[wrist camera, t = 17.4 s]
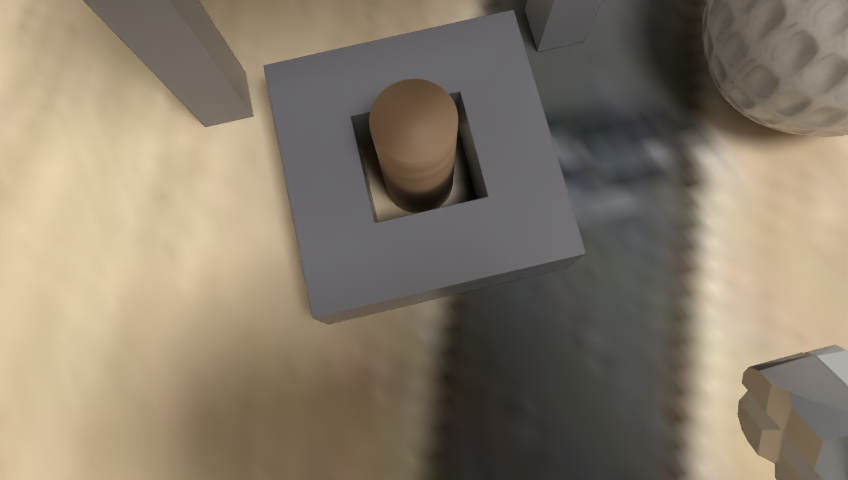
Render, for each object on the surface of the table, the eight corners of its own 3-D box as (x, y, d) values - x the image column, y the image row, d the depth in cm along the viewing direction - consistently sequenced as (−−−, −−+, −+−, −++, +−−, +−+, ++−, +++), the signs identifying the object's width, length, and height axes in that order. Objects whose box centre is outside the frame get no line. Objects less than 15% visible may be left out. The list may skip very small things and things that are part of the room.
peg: (465, 169, 36) (474, 104, 27) (430, 225, 35) (429, 178, 26) (407, 137, 36) (398, 64, 27) (373, 192, 35) (352, 135, 27)
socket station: (650, 248, 34) (1775, -365, 6) (242, 344, 34) (-916, 222, 5) (570, -1, 38) (1008, -1188, 9) (198, 82, 37) (-639, -911, 8)
